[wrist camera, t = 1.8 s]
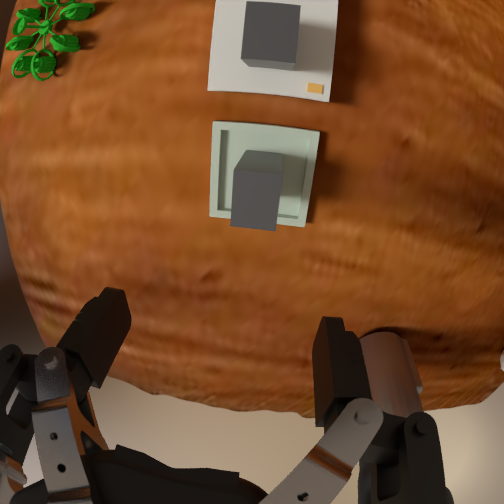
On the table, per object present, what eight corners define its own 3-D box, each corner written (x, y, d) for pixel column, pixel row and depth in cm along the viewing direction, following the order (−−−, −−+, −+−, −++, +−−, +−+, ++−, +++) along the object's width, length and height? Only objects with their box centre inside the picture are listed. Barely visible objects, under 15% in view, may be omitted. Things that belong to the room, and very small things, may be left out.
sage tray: (318, 130, 25) (319, 132, 24) (303, 222, 30) (304, 227, 29) (215, 120, 25) (212, 121, 24) (211, 212, 31) (209, 216, 30)
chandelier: (25, 6, 16) (-8, 4, 10) (107, -38, 15) (75, -53, 9) (21, 94, 24) (-15, 103, 18) (99, 62, 22) (60, 62, 16)
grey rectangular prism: (281, 153, 26) (282, 174, 19) (276, 196, 29) (275, 231, 22) (246, 149, 26) (233, 169, 20) (242, 192, 29) (230, 226, 22)
